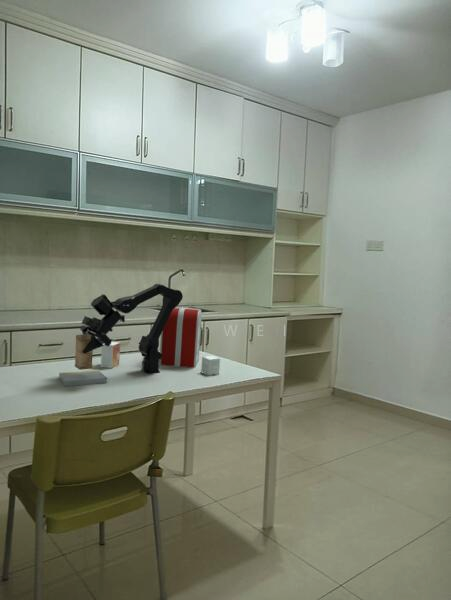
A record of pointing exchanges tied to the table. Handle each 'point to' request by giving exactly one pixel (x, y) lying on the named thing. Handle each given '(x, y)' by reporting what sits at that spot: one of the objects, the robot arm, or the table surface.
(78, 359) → the brown block
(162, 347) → the red striped box
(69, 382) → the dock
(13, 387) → the table surface
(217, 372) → the product box
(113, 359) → the small box
